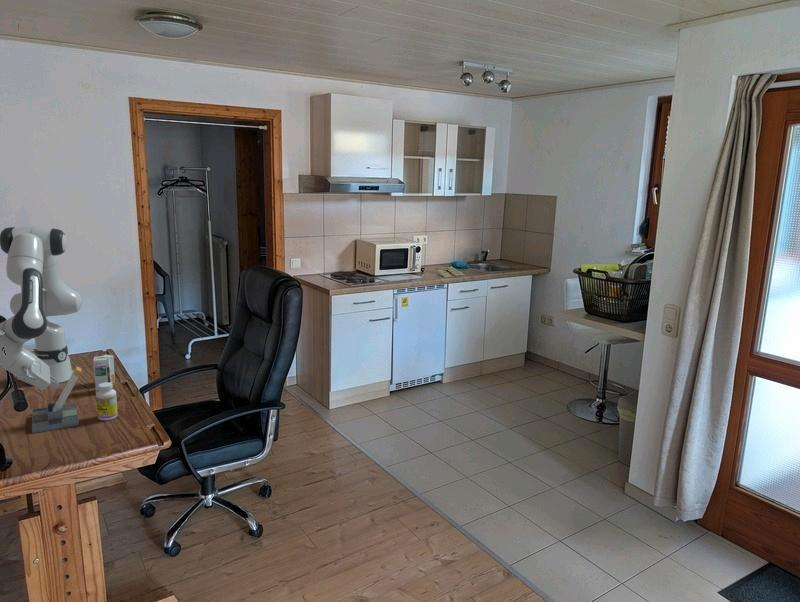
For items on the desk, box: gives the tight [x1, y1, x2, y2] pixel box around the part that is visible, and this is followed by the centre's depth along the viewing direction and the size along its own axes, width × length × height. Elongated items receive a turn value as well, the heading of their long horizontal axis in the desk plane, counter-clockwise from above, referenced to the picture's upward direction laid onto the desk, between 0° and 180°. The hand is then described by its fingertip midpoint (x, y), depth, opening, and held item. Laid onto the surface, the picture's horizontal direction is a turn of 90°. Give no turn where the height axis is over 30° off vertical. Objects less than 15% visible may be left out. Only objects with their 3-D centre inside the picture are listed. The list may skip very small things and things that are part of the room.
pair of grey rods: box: [32, 403, 77, 412], centre depth 216 cm, size 14×3×2 cm, turn 121°
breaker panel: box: [31, 401, 80, 434], centre depth 206 cm, size 14×16×5 cm
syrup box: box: [92, 355, 111, 394], centre depth 235 cm, size 6×6×14 cm
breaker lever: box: [52, 365, 83, 412], centre depth 207 cm, size 2×7×18 cm, turn 31°
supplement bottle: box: [95, 382, 118, 421], centre depth 210 cm, size 7×7×13 cm
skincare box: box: [102, 354, 116, 384], centre depth 243 cm, size 6×4×12 cm
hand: (58, 386), depth 205 cm, fingers closed
